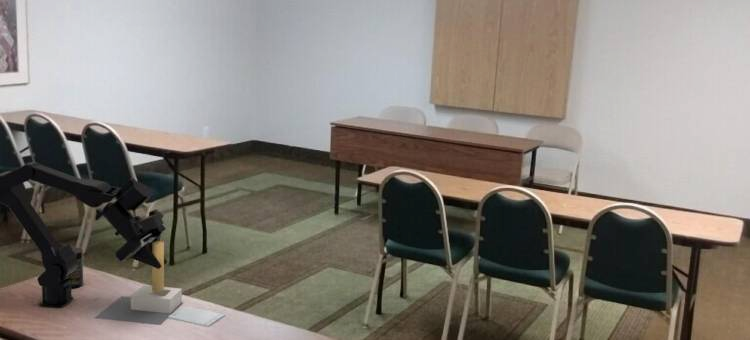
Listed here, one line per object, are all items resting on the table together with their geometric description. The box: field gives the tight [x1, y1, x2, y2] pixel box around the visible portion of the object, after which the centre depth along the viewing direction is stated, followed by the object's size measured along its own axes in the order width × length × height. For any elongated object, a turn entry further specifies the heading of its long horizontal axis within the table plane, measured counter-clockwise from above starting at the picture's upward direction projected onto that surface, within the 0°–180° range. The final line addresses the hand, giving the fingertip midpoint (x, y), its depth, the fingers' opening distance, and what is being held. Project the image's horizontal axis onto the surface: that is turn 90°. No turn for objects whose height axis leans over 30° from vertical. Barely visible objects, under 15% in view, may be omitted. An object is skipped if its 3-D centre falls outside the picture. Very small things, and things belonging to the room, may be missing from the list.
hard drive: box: [167, 306, 226, 328], centre depth 195 cm, size 2×8×12 cm
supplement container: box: [67, 246, 85, 290], centre depth 212 cm, size 7×7×10 cm
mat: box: [94, 295, 184, 326], centre depth 197 cm, size 18×16×1 cm
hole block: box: [130, 284, 183, 313], centre depth 200 cm, size 11×8×4 cm
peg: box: [151, 240, 165, 291], centre depth 195 cm, size 3×3×13 cm
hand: (163, 265), depth 195 cm, fingers closed on peg, 3 cm apart
